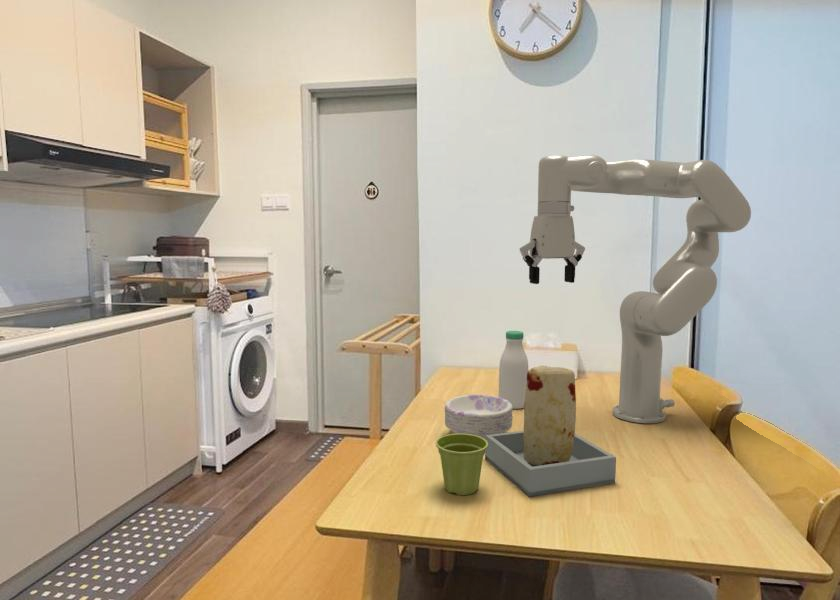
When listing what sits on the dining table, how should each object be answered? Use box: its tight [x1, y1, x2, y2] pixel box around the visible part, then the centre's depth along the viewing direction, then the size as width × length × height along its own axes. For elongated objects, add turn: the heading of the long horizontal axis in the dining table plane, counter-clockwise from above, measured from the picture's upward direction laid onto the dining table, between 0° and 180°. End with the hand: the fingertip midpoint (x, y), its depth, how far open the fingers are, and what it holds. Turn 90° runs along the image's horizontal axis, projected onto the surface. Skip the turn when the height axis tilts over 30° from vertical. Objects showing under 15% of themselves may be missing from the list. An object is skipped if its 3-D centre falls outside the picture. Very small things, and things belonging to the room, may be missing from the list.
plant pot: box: [435, 433, 488, 496], centre depth 104 cm, size 9×9×9 cm
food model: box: [523, 365, 577, 466], centre depth 111 cm, size 10×7×20 cm
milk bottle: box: [498, 330, 529, 410], centre depth 153 cm, size 8×8×20 cm
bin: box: [484, 430, 617, 498], centre depth 112 cm, size 18×18×5 cm
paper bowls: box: [444, 394, 514, 439], centre depth 130 cm, size 15×15×8 cm
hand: (552, 282), depth 137 cm, fingers open, 9 cm apart
